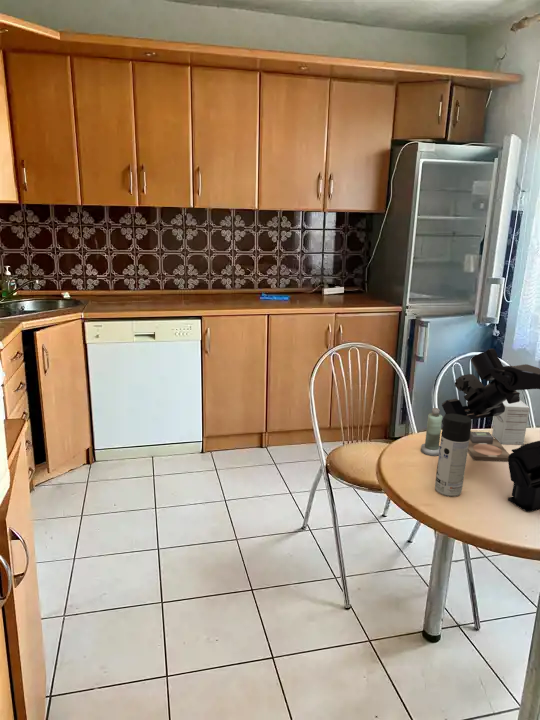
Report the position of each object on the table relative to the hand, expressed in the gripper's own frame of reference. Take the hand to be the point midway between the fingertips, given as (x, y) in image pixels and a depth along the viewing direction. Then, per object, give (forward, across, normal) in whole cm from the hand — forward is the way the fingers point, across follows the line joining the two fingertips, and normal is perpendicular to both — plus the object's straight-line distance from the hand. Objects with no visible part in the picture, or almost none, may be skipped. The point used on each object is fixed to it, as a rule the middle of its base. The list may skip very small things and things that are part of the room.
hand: (454, 420), depth 155 cm
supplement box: (+12, -29, +6) cm, 32 cm away
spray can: (0, +13, +18) cm, 22 cm away
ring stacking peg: (+14, 0, +4) cm, 15 cm away
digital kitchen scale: (+10, -16, +8) cm, 20 cm away
